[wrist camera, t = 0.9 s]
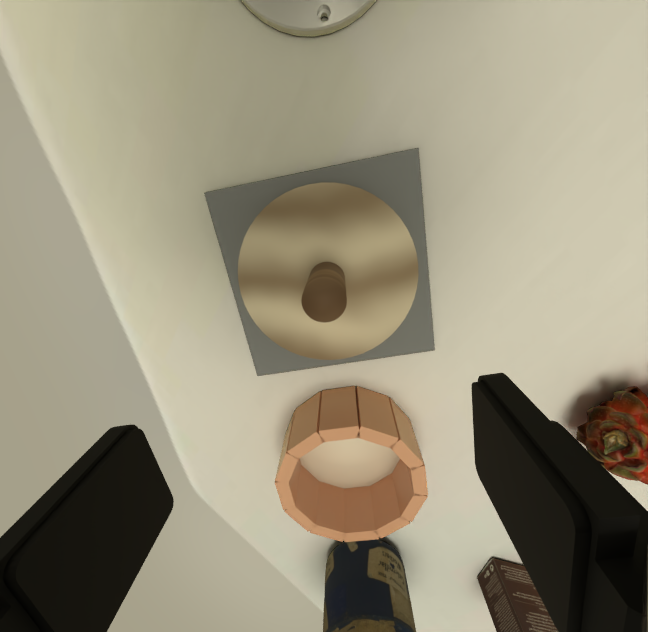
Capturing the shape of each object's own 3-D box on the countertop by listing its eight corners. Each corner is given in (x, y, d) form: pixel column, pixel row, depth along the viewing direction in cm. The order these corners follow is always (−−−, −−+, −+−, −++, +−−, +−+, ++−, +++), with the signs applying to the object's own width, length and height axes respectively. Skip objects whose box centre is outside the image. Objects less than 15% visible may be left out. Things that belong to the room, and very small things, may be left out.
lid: (219, 203, 26) (179, 205, 20) (406, 164, 25) (431, 152, 18) (265, 365, 31) (245, 410, 24) (422, 341, 29) (447, 383, 23)
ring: (274, 397, 33) (261, 438, 27) (405, 378, 31) (419, 418, 26) (301, 493, 37) (294, 546, 31) (417, 481, 36) (432, 534, 30)
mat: (206, 192, 26) (204, 192, 26) (416, 148, 25) (418, 147, 24) (258, 373, 32) (257, 376, 31) (433, 347, 30) (434, 350, 30)
